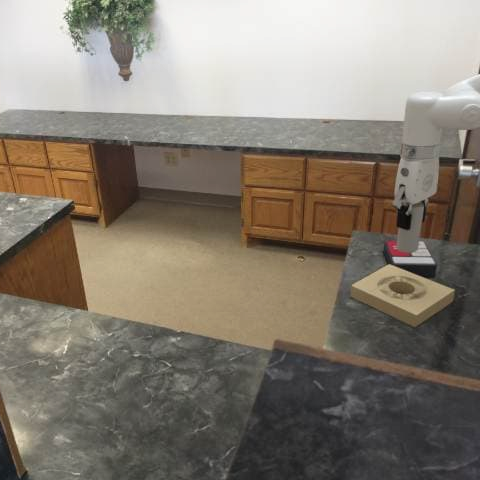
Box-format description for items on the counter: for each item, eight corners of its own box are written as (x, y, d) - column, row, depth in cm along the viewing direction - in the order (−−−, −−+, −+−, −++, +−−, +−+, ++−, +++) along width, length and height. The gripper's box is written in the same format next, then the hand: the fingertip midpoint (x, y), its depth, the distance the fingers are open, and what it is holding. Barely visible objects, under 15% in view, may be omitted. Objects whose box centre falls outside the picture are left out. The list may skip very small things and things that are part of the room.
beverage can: (392, 250, 123) (397, 204, 118) (401, 242, 126) (406, 198, 121) (413, 255, 120) (419, 209, 115) (421, 247, 123) (427, 202, 118)
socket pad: (452, 301, 127) (455, 289, 125) (414, 327, 119) (416, 315, 118) (388, 275, 140) (389, 264, 139) (350, 296, 133) (351, 285, 132)
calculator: (424, 240, 148) (437, 262, 135) (423, 253, 150) (435, 277, 137) (384, 239, 151) (393, 261, 138) (383, 252, 153) (391, 276, 140)
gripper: (412, 163, 105) (403, 241, 113) (458, 143, 113) (446, 218, 121) (380, 156, 111) (373, 231, 119) (425, 138, 119) (416, 209, 127)
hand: (410, 223), depth 120 cm, fingers closed on beverage can, 4 cm apart
